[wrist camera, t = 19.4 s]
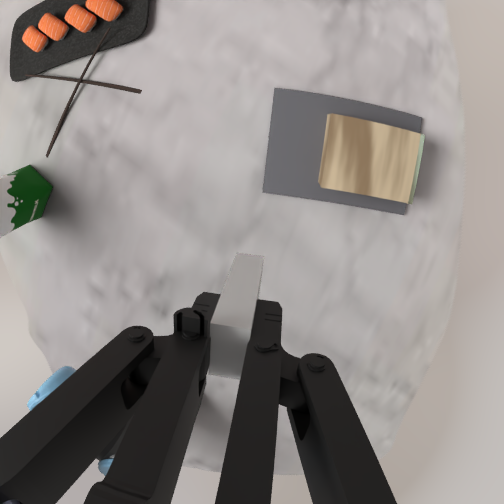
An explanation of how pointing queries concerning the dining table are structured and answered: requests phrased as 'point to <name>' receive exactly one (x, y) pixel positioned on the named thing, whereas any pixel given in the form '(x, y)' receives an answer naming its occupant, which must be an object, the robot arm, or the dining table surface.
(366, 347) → the dining table surface
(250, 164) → the dining table surface
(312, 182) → the rubber mat
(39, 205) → the milk carton
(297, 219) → the dining table surface
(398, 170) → the oak slab
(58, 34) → the sushi plate
